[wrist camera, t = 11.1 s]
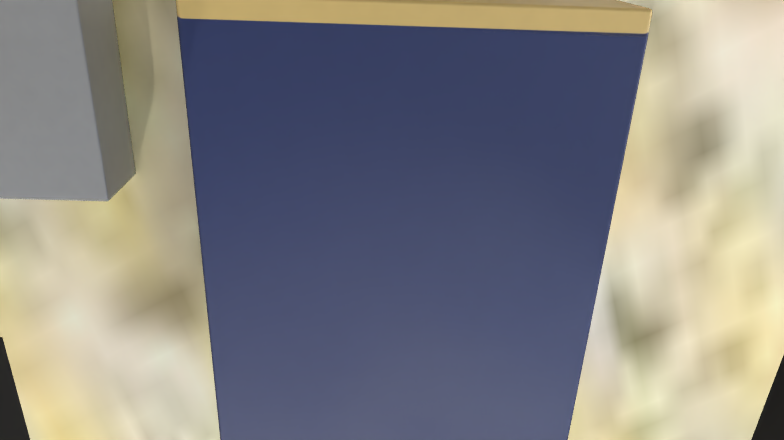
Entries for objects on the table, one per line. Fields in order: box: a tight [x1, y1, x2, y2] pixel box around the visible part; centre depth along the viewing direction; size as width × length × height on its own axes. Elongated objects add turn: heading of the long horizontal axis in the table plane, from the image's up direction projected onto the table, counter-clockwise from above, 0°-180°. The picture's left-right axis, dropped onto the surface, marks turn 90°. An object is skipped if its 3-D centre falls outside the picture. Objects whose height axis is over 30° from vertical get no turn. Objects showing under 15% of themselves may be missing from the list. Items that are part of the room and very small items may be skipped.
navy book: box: [176, 0, 652, 440], centre depth 16 cm, size 12×9×3 cm
